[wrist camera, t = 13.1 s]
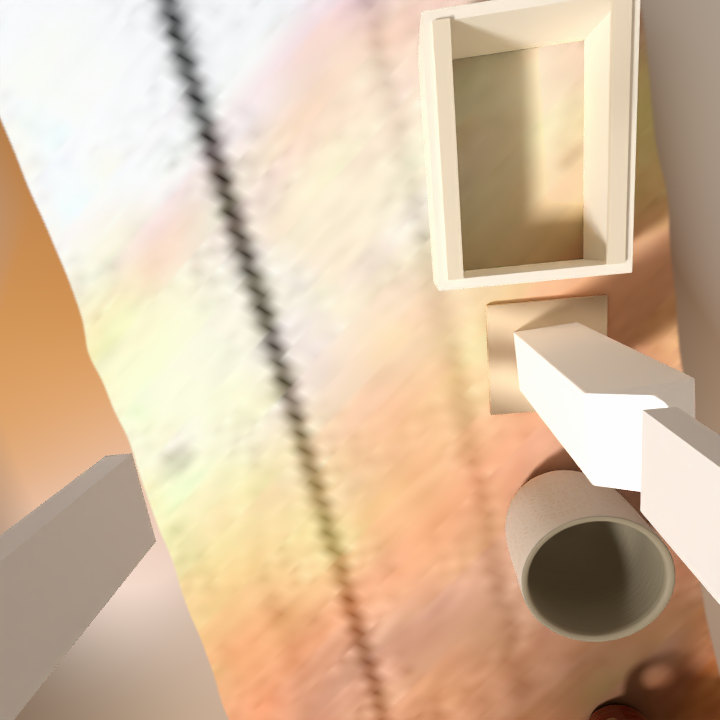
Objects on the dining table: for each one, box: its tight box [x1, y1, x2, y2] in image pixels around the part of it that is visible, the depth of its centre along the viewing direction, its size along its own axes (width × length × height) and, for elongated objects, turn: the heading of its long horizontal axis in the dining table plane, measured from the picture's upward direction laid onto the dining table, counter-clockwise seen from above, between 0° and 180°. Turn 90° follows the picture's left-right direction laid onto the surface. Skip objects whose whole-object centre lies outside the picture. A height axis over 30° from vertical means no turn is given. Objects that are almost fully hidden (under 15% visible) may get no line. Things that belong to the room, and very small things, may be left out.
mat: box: [486, 295, 608, 415], centre depth 46 cm, size 11×11×1 cm
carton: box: [418, 0, 640, 291], centre depth 38 cm, size 20×15×8 cm
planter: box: [505, 470, 675, 642], centre depth 45 cm, size 12×12×11 cm
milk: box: [513, 322, 695, 492], centre depth 35 cm, size 6×6×22 cm
